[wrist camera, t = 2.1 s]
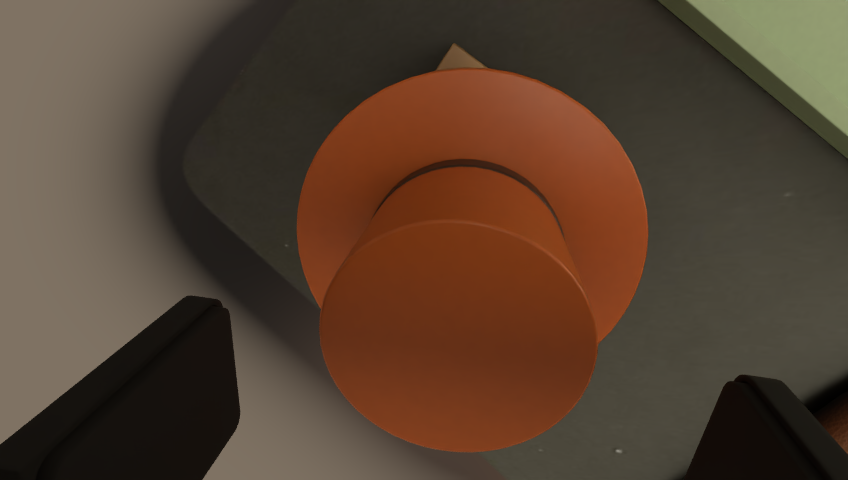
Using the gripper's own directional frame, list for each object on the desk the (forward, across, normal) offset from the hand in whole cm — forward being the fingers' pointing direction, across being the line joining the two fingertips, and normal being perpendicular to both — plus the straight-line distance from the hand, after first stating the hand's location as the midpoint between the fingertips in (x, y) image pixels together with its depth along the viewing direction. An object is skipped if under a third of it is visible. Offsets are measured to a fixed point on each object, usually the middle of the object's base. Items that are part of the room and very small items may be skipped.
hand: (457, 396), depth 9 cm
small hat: (+7, 0, 0) cm, 7 cm away
